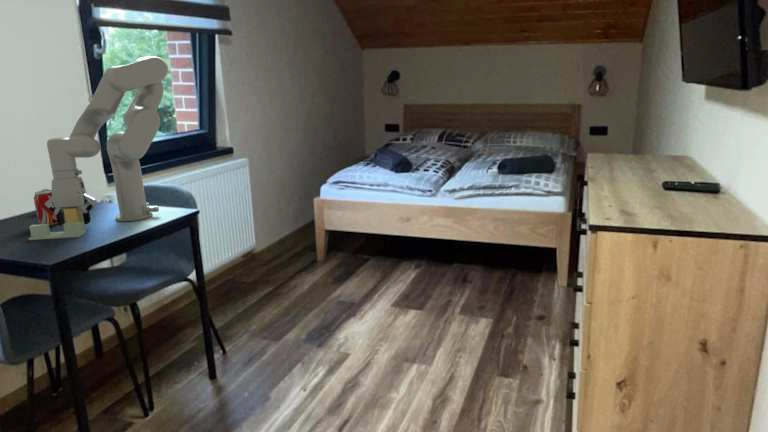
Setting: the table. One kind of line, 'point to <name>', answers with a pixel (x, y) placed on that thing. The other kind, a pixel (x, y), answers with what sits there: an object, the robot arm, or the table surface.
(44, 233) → the cream holder stand
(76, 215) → the tan rectangular block
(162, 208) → the table surface
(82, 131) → the robot arm
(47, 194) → the soda can
